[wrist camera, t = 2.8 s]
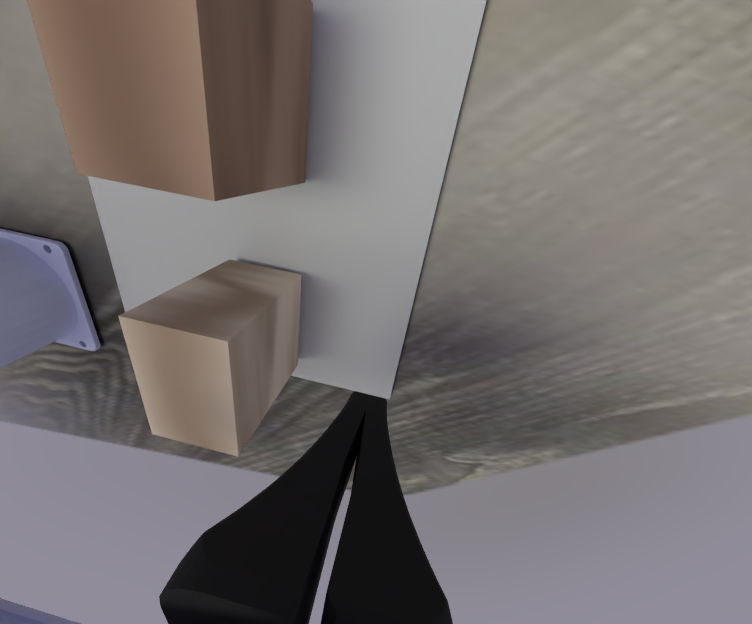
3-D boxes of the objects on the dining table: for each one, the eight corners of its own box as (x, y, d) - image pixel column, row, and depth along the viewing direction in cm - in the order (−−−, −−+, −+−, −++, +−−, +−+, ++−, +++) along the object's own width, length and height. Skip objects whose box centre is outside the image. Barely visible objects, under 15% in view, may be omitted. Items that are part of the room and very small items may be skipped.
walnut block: (229, 166, 14) (77, 173, 8) (217, -6, 12) (-29, -192, 5) (309, 181, 14) (214, 201, 8) (317, 9, 11) (180, -168, 5)
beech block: (241, 345, 19) (152, 433, 13) (235, 256, 17) (118, 316, 10) (300, 359, 19) (238, 456, 13) (305, 271, 16) (227, 341, 10)
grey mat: (137, 334, 21) (132, 337, 21) (11, -143, 11) (-3, -153, 11) (390, 395, 20) (389, 399, 19) (506, -84, 10) (509, -92, 9)
